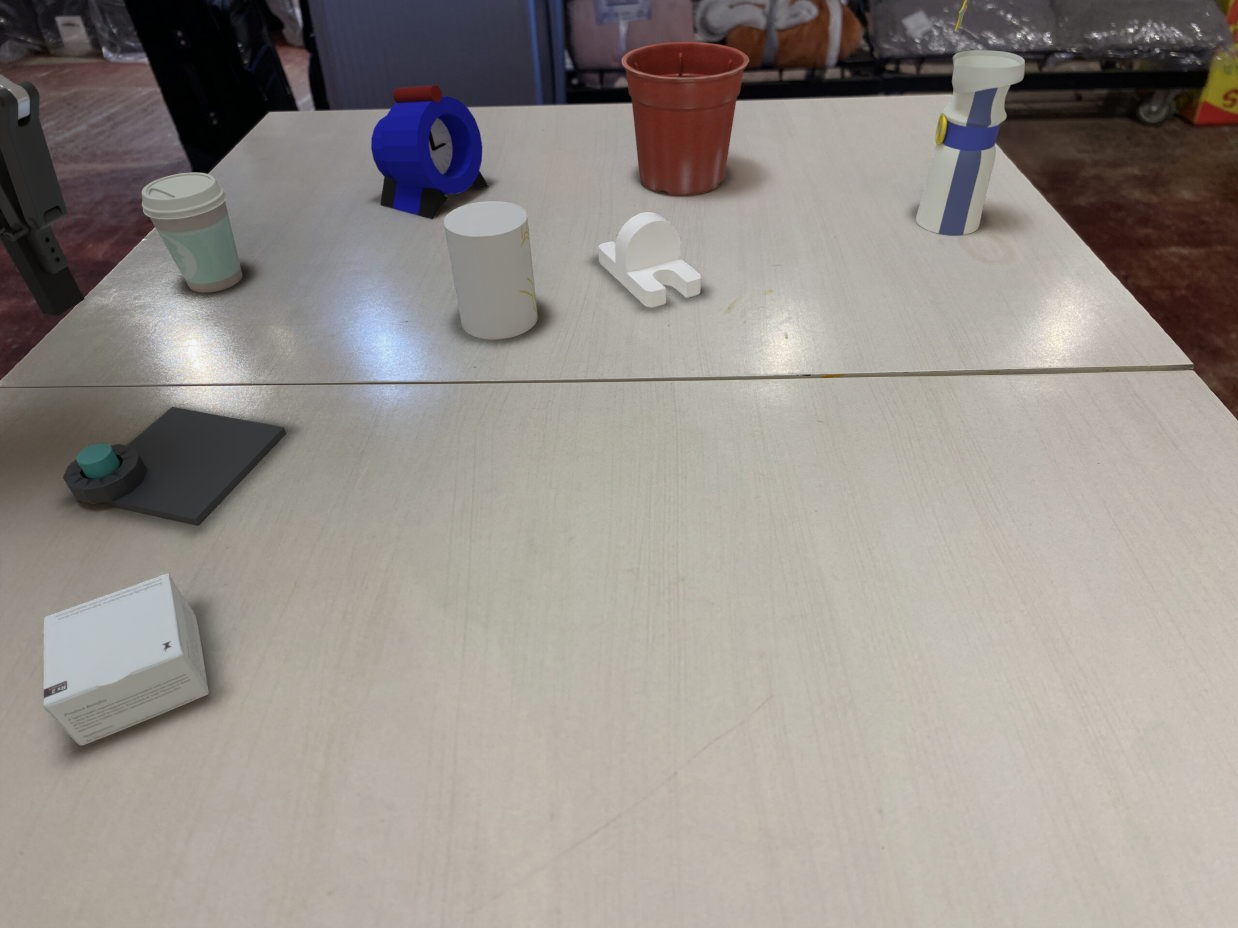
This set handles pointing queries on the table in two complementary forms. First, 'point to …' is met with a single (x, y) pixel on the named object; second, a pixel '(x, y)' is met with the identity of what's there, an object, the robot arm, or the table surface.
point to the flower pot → (683, 112)
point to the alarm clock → (426, 150)
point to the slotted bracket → (649, 260)
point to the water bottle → (967, 140)
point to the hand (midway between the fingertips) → (63, 306)
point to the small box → (122, 659)
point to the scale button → (98, 460)
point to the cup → (492, 268)
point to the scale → (179, 465)
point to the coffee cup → (195, 229)
